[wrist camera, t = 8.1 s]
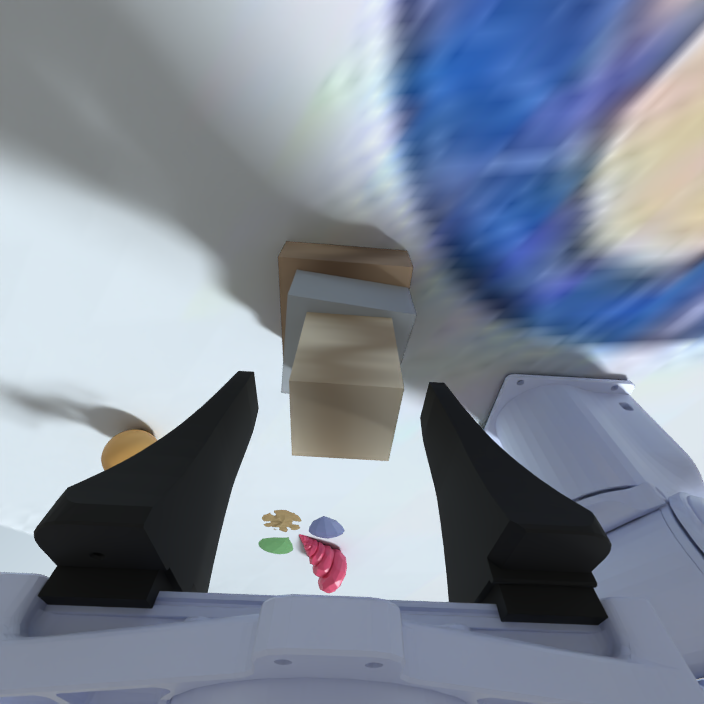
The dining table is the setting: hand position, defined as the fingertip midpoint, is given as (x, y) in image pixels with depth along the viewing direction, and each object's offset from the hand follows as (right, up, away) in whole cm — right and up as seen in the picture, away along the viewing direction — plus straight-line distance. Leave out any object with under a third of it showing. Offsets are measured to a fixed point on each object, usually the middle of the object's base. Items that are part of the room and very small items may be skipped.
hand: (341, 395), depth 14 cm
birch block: (0, +2, +3) cm, 4 cm away
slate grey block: (0, +3, +6) cm, 7 cm away
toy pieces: (-5, -19, +25) cm, 32 cm away
